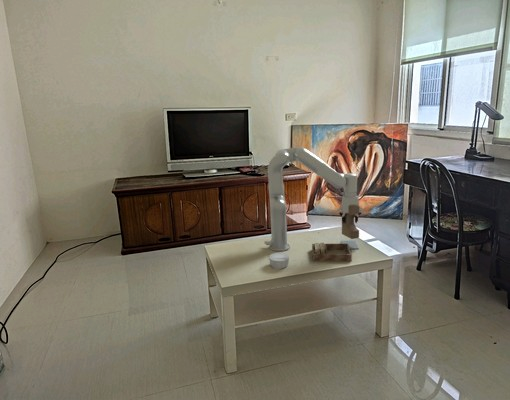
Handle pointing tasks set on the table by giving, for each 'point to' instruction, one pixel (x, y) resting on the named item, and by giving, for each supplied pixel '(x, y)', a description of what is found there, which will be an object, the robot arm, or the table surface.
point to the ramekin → (279, 260)
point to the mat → (350, 244)
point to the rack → (333, 256)
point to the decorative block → (350, 223)
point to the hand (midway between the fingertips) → (349, 222)
